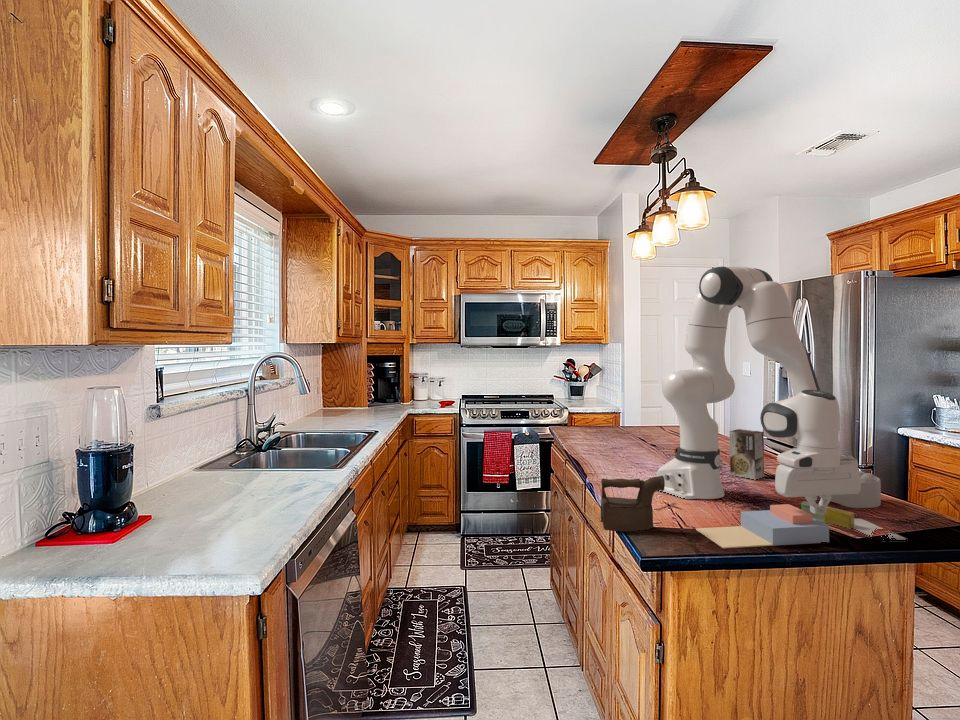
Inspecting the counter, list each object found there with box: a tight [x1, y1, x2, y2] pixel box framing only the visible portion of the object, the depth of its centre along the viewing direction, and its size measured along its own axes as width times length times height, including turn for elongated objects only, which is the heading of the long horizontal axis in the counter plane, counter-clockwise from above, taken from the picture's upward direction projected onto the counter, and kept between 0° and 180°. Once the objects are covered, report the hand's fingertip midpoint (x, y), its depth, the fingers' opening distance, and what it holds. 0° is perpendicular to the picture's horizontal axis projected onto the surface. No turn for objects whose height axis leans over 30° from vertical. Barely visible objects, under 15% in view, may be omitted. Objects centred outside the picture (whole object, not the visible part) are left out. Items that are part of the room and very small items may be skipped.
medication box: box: [799, 500, 855, 529], centre depth 130 cm, size 12×3×4 cm, turn 32°
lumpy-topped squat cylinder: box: [830, 470, 882, 509], centre depth 146 cm, size 10×13×9 cm
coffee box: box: [729, 428, 765, 481], centre depth 175 cm, size 9×6×16 cm
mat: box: [695, 525, 773, 549], centre depth 121 cm, size 12×12×1 cm
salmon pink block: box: [769, 503, 813, 524], centre depth 122 cm, size 5×8×2 cm, turn 5°
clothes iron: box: [600, 476, 665, 532], centre depth 129 cm, size 8×16×13 cm, turn 79°
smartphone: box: [852, 517, 908, 540], centre depth 124 cm, size 7×1×15 cm
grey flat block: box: [740, 509, 830, 547], centre depth 122 cm, size 14×12×4 cm
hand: (818, 512), depth 123 cm, fingers closed
